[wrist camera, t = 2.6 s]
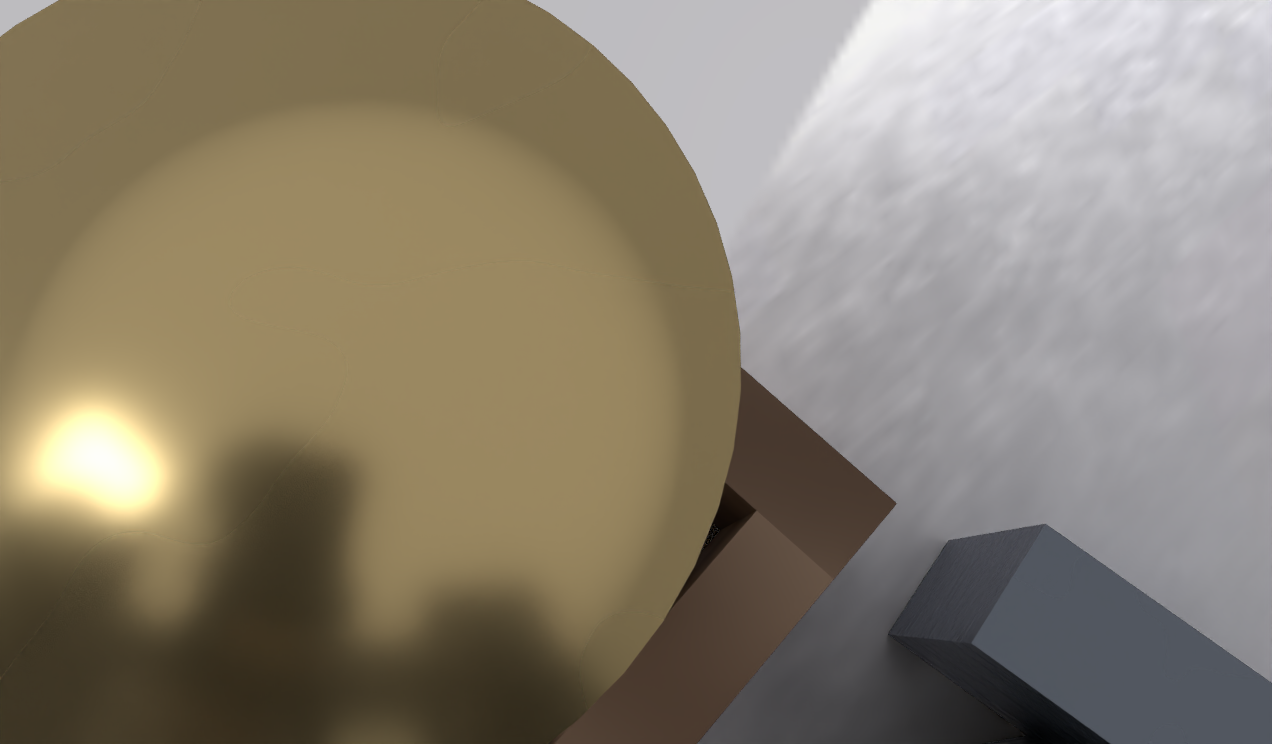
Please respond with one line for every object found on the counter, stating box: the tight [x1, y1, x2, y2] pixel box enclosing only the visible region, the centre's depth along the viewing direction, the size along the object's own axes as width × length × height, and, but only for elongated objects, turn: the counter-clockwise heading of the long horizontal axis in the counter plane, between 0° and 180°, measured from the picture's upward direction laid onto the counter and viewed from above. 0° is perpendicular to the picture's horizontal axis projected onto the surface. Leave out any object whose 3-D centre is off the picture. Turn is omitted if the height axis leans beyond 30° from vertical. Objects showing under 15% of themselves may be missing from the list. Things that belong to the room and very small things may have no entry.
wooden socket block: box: [548, 368, 897, 744], centre depth 16 cm, size 14×8×4 cm, turn 138°
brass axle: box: [0, 0, 741, 744], centre depth 11 cm, size 4×4×14 cm
